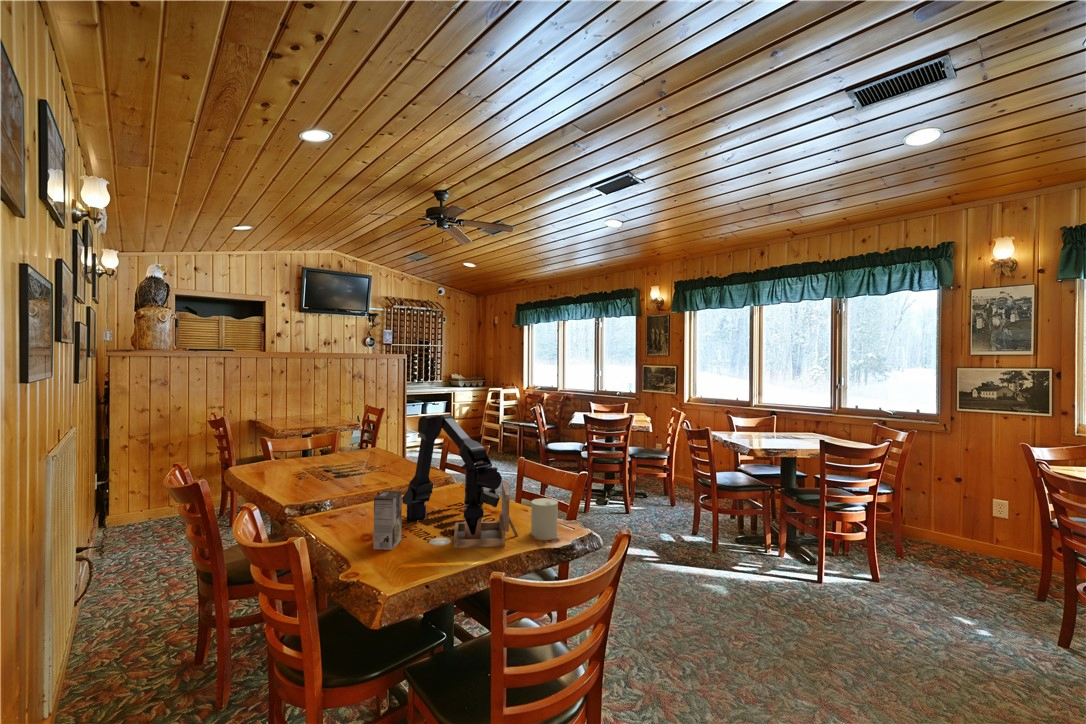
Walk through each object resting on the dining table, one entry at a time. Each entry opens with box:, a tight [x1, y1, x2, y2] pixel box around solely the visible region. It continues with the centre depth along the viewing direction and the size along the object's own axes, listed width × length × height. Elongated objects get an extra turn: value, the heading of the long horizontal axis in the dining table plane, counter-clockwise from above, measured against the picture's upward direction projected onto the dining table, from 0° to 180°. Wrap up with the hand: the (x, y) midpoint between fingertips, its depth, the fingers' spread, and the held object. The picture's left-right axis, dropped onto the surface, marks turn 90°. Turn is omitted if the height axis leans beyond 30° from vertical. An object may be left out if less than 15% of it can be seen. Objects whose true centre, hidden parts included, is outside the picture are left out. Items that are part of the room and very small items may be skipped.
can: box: [530, 497, 559, 541], centre depth 175 cm, size 9×9×12 cm
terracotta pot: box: [463, 517, 483, 539], centre depth 169 cm, size 6×6×7 cm
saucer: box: [428, 537, 452, 547], centre depth 165 cm, size 7×7×1 cm
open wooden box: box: [453, 480, 519, 549], centre depth 170 cm, size 21×19×17 cm
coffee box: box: [372, 490, 403, 551], centre depth 164 cm, size 9×6×16 cm
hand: (473, 531), depth 169 cm, fingers closed on terracotta pot, 5 cm apart
